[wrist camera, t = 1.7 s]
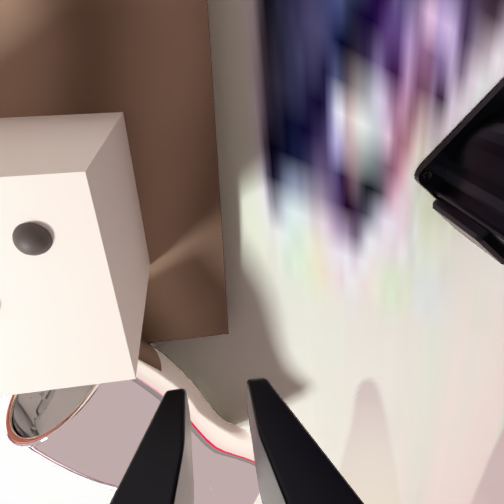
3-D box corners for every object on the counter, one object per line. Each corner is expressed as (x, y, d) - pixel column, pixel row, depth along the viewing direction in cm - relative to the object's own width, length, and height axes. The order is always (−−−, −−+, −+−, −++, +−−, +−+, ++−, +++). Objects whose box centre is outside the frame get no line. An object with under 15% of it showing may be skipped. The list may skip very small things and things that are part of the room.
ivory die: (123, 111, 16) (81, 177, 10) (150, 264, 20) (134, 388, 13) (-75, 121, 15) (-275, 200, 9) (-7, 279, 19) (-109, 420, 12)
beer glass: (171, 479, 29) (-5, 390, 20) (234, 404, 31) (96, 291, 22) (218, 562, 24) (7, 490, 15) (291, 465, 25) (140, 349, 17)
